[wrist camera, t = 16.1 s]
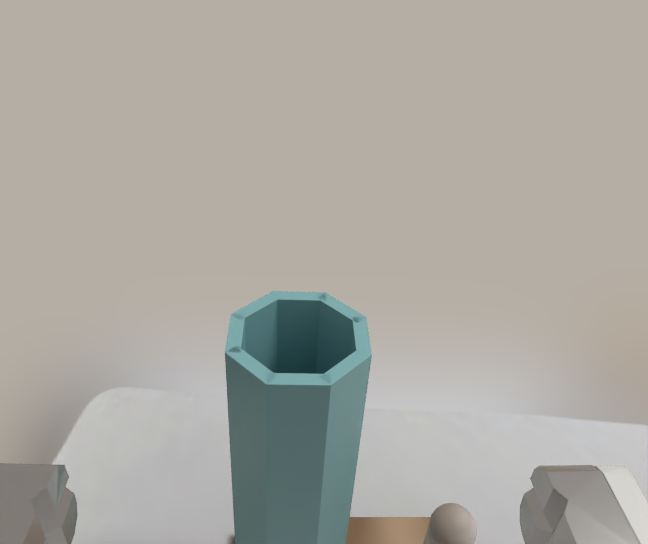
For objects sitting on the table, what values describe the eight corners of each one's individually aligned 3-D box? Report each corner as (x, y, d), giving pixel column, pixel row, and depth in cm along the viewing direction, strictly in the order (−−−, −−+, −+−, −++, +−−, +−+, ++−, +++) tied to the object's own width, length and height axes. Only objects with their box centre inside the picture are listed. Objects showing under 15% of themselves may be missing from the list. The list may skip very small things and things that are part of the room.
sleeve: (333, 540, 38) (362, 293, 27) (338, 636, 33) (376, 386, 22) (244, 540, 38) (234, 290, 26) (236, 637, 33) (220, 383, 21)
